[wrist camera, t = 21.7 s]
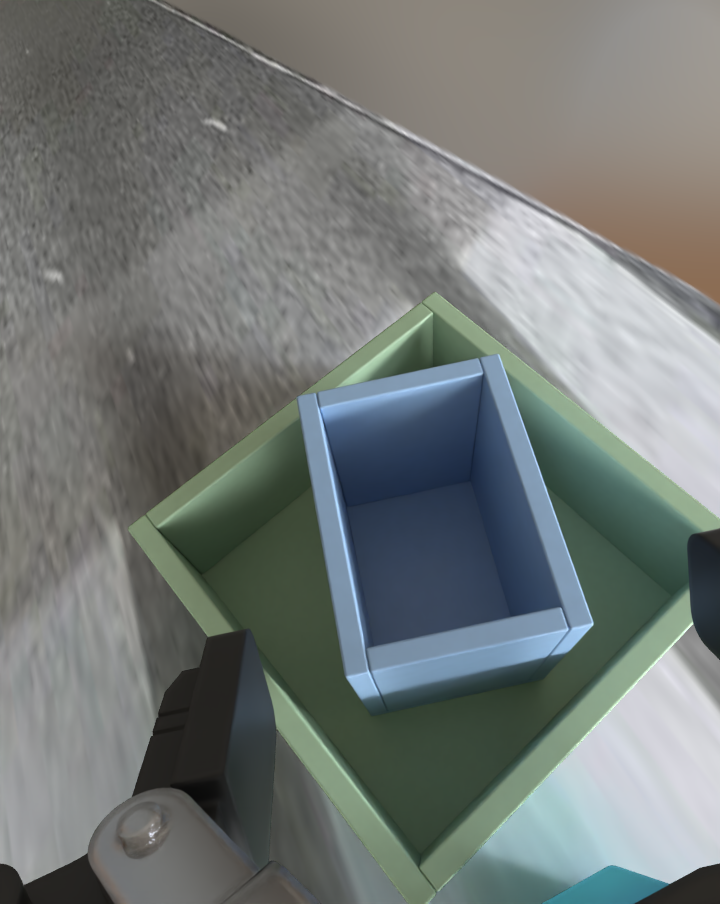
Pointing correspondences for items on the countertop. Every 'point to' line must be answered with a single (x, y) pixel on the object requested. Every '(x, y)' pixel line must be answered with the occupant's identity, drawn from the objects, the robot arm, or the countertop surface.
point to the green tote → (460, 719)
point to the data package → (609, 888)
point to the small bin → (438, 536)
